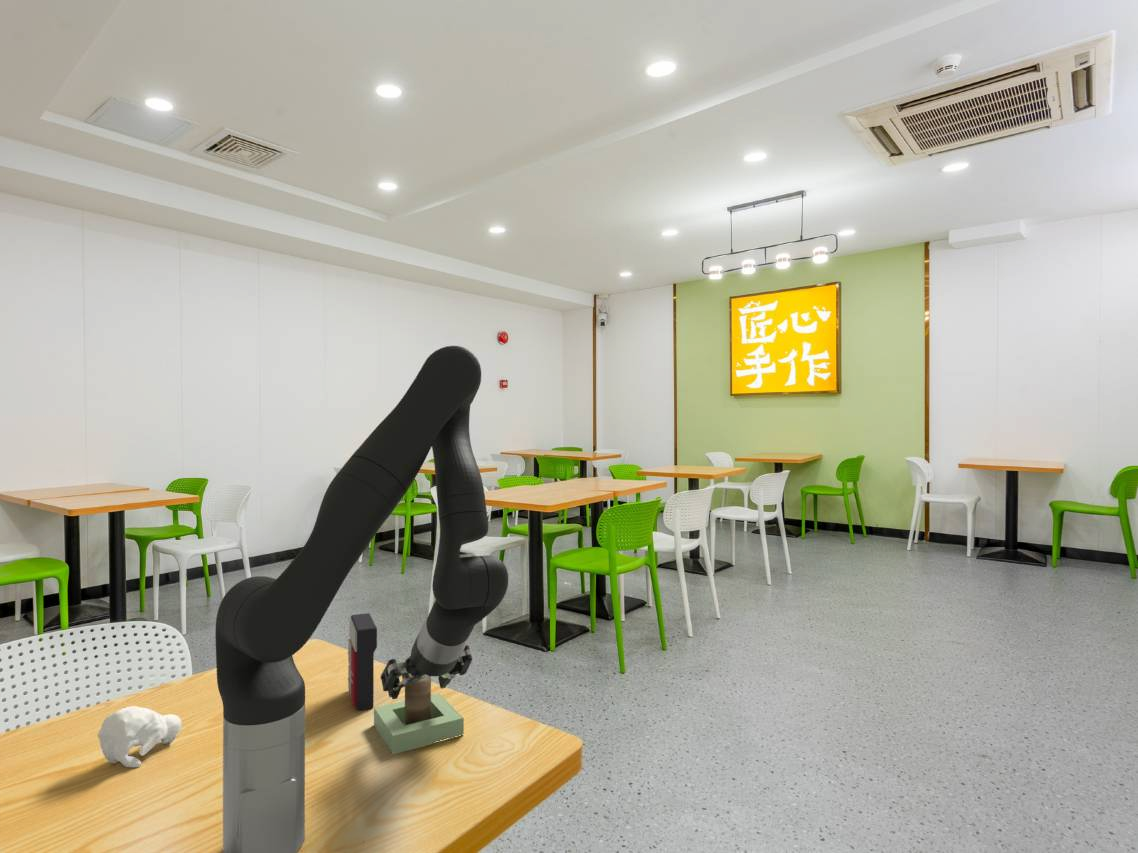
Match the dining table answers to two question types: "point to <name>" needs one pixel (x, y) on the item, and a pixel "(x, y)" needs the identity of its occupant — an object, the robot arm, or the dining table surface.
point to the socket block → (417, 725)
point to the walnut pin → (418, 701)
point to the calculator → (361, 660)
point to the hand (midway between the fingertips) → (417, 688)
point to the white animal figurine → (135, 733)
